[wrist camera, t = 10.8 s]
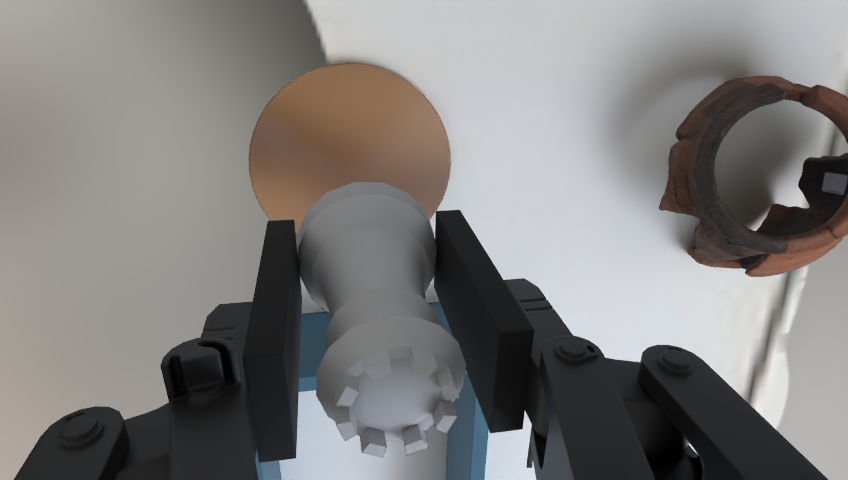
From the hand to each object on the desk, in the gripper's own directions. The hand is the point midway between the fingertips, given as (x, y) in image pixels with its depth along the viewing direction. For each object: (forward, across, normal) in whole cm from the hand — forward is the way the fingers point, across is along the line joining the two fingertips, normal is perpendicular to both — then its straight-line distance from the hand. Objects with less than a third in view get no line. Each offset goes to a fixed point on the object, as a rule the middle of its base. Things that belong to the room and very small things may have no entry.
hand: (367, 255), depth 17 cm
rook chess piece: (+1, 0, 0) cm, 1 cm away
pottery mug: (+9, +20, -1) cm, 22 cm away
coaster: (+9, 0, 0) cm, 9 cm away
